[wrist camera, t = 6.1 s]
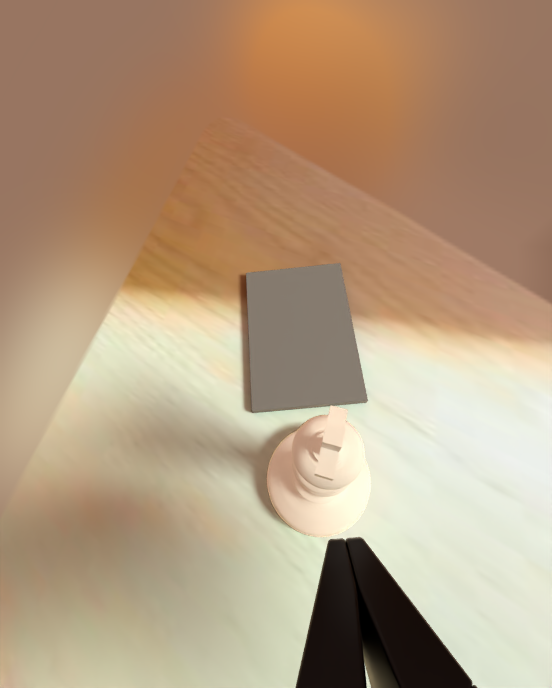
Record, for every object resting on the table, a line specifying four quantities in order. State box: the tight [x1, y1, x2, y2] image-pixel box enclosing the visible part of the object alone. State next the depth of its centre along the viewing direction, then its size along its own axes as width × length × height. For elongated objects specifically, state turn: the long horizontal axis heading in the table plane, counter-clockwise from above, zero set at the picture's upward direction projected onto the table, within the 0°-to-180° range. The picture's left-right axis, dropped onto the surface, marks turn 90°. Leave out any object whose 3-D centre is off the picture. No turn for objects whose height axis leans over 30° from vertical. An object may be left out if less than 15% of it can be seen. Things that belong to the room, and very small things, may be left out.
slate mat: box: [246, 263, 368, 413], centre depth 20 cm, size 9×6×1 cm, turn 4°
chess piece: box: [267, 405, 371, 537], centre depth 12 cm, size 5×5×10 cm
